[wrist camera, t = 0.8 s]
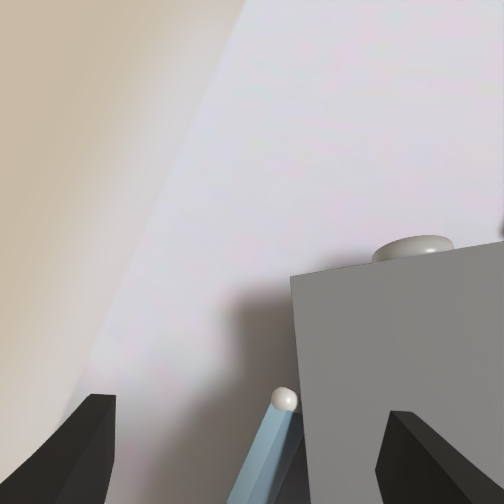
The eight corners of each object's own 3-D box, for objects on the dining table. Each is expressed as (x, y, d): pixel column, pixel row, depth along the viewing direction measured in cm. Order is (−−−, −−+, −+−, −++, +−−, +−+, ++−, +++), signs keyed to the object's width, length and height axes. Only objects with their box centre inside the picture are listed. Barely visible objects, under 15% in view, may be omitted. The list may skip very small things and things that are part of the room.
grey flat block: (639, 770, 16) (719, 884, 12) (354, 741, 19) (336, 825, 15) (488, 257, 25) (504, 215, 21) (305, 286, 28) (285, 254, 23)
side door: (230, 613, 22) (184, 653, 17) (213, 600, 22) (164, 635, 18) (318, 404, 24) (296, 392, 20) (301, 395, 25) (276, 383, 20)
